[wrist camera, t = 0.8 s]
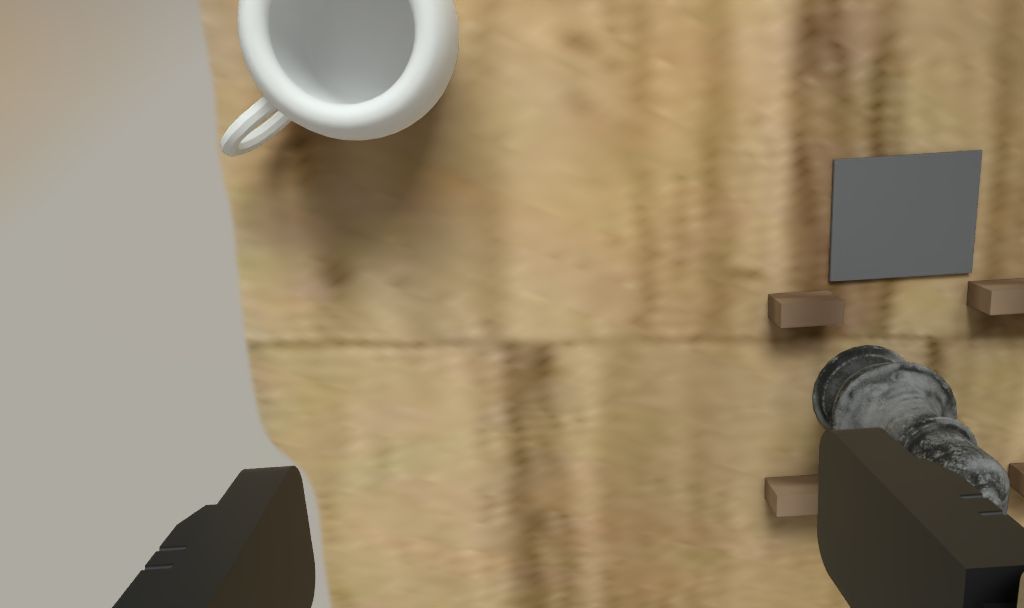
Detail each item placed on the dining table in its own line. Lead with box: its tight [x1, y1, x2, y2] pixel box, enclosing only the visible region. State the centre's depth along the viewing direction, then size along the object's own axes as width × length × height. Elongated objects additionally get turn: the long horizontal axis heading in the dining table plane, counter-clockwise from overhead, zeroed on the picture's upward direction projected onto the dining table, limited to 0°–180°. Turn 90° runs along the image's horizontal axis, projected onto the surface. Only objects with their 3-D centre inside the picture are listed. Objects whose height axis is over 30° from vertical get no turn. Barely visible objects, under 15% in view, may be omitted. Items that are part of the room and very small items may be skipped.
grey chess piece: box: [812, 345, 1010, 509], centre depth 35 cm, size 6×6×12 cm
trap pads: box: [829, 150, 1009, 515], centre depth 41 cm, size 10×24×1 cm, turn 4°
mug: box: [220, 0, 459, 157], centre depth 33 cm, size 12×8×8 cm
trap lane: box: [765, 278, 1024, 517], centre depth 40 cm, size 22×11×3 cm, turn 94°
